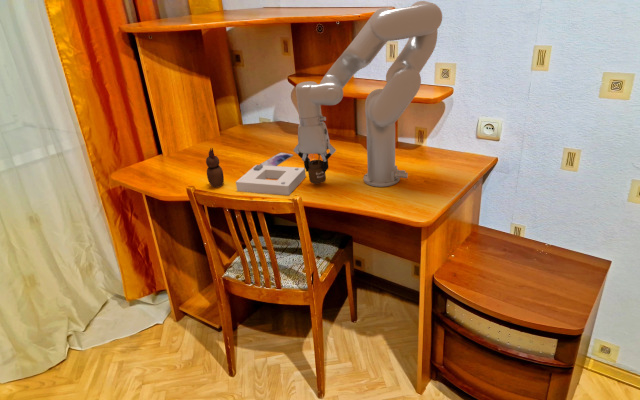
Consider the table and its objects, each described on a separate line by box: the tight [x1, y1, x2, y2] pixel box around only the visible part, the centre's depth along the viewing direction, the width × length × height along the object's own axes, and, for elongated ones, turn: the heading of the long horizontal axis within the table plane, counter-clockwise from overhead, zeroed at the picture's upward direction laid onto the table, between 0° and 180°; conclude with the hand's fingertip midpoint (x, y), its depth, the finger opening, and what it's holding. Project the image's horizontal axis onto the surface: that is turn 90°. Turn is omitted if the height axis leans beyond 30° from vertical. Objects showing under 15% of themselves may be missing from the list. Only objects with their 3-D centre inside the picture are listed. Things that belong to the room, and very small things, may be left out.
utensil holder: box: [308, 153, 327, 185], centre depth 157 cm, size 6×6×12 cm
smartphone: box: [259, 151, 294, 166], centre depth 185 cm, size 7×1×15 cm
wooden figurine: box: [205, 147, 225, 188], centre depth 163 cm, size 7×6×15 cm
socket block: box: [235, 164, 307, 196], centre depth 163 cm, size 20×16×4 cm
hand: (316, 169), depth 158 cm, fingers closed on utensil holder, 5 cm apart
